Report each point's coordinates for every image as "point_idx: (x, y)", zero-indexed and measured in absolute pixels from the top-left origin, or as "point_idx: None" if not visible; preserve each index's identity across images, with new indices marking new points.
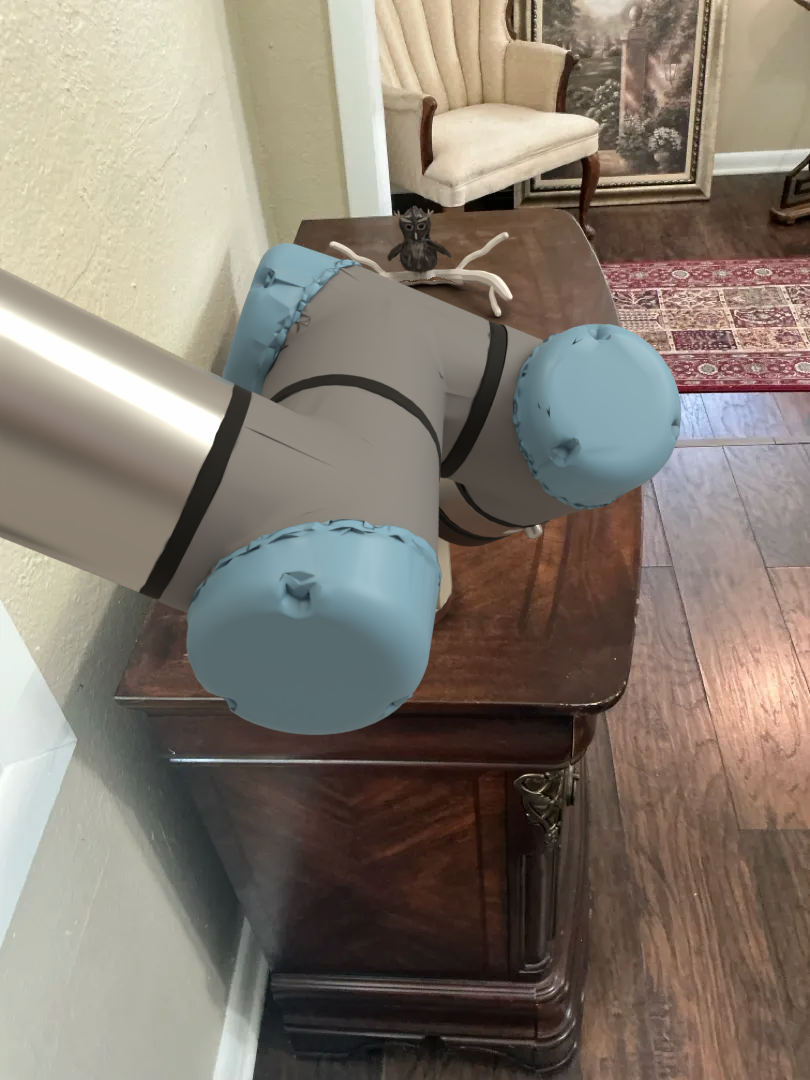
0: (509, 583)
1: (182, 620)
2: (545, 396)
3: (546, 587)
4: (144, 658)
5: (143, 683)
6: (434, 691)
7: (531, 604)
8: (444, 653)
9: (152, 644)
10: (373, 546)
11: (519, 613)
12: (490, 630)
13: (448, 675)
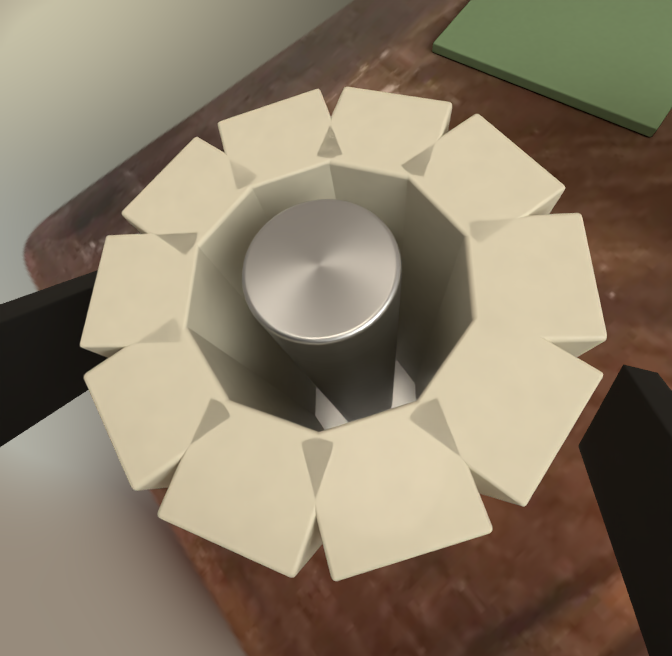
0: (548, 539)
1: (134, 192)
2: None
3: (606, 621)
4: (62, 213)
5: (31, 245)
6: (237, 613)
7: (540, 627)
8: (317, 561)
9: (84, 200)
10: None
11: (500, 621)
12: (421, 599)
13: (281, 609)
